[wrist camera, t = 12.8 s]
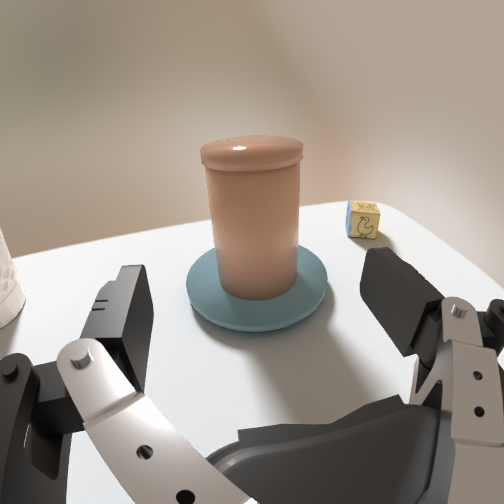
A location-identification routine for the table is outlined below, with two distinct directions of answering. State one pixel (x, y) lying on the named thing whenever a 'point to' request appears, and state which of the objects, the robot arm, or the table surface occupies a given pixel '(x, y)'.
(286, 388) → the table surface
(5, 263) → the white cup
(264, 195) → the dome-topped peach cylinder
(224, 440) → the table surface
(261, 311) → the blue-grey round disc
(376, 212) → the alphabet block
